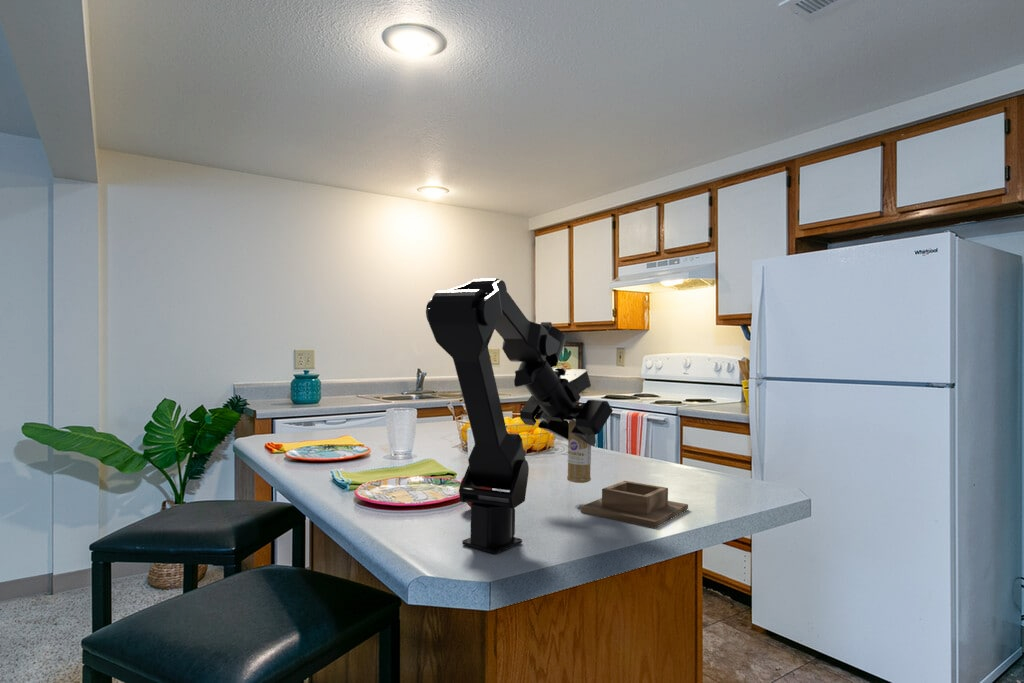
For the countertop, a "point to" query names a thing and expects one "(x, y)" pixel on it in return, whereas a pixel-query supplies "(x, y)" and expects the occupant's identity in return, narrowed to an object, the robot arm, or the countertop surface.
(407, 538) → the countertop surface
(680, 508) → the walnut collar holder
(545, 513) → the countertop surface
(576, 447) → the sprinkles bottle
